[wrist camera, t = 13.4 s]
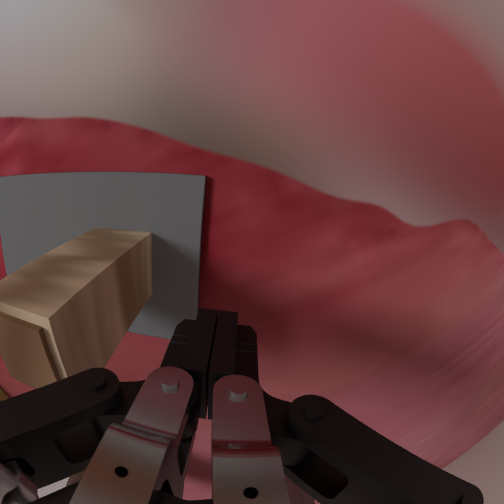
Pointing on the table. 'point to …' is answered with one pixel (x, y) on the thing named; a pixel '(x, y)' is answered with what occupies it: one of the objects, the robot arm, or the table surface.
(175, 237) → the mat
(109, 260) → the block
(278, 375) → the table surface
